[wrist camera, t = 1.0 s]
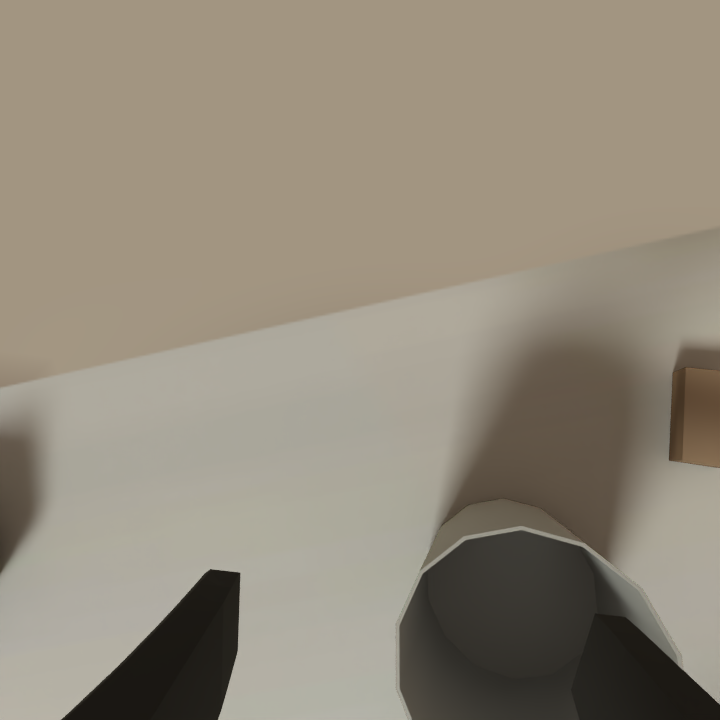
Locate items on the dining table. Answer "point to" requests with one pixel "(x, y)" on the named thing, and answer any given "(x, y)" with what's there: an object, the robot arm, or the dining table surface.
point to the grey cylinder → (508, 617)
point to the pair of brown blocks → (695, 417)
